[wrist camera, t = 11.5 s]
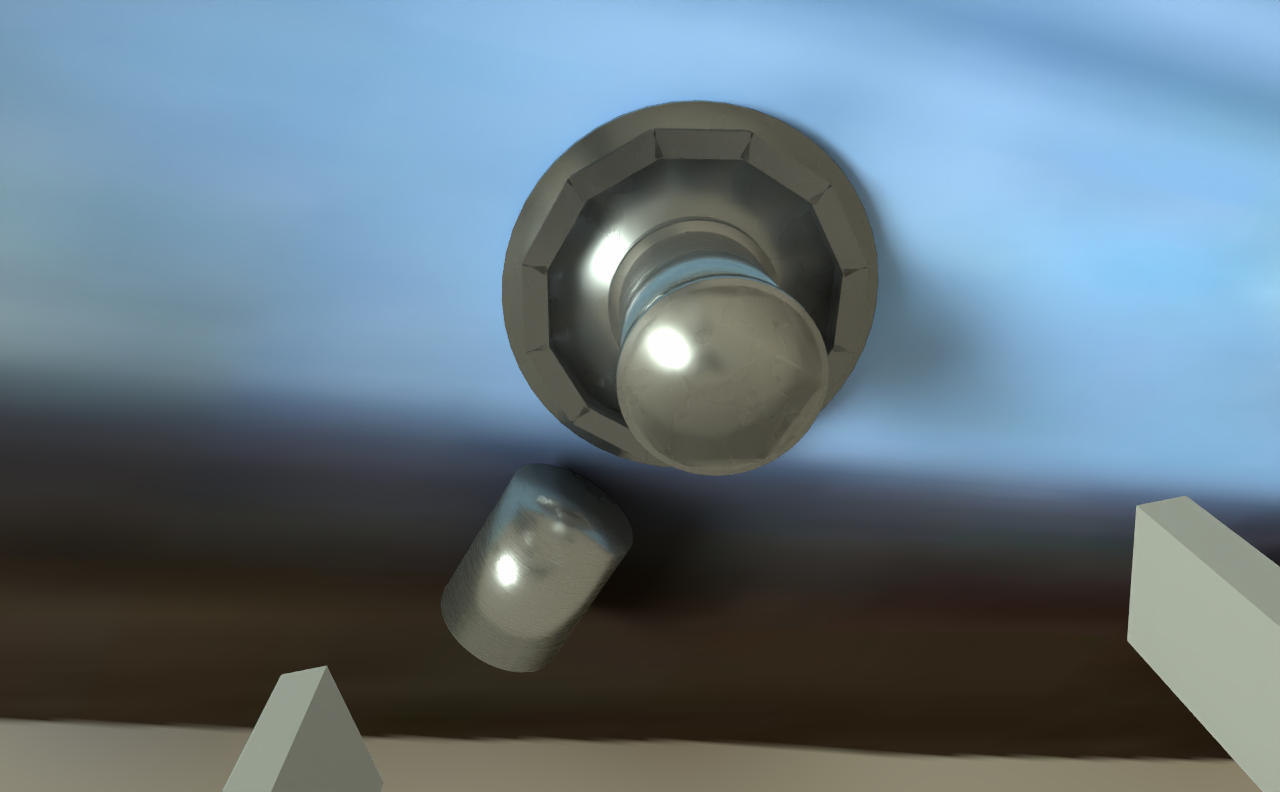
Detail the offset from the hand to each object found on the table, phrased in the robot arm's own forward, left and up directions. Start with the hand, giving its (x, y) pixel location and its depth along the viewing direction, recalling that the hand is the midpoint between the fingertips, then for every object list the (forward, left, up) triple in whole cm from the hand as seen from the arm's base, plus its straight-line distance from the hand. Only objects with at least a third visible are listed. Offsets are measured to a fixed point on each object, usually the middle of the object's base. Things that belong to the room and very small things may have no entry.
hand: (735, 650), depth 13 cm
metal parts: (+4, +2, -23) cm, 23 cm away
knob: (0, +2, -22) cm, 22 cm away
